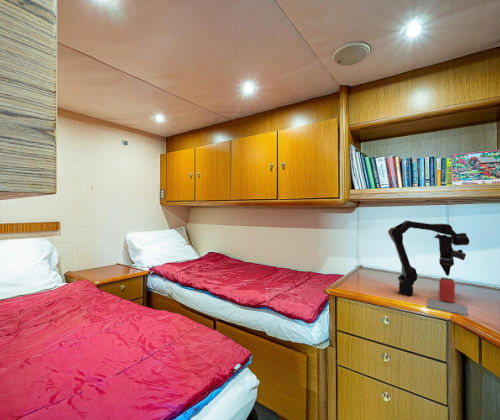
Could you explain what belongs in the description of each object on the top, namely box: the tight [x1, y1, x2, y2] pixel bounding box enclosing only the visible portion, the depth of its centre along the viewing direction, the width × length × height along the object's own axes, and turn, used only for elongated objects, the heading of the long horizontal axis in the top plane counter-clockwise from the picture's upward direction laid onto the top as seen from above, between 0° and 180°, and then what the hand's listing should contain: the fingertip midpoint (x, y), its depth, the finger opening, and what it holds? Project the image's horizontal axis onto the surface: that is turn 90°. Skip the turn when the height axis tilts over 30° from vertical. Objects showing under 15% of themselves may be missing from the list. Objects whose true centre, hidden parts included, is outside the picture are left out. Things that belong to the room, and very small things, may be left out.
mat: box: [426, 298, 469, 317], centre depth 129 cm, size 16×14×1 cm
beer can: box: [438, 277, 456, 304], centre depth 136 cm, size 7×7×12 cm
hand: (447, 273), depth 143 cm, fingers open, 9 cm apart
